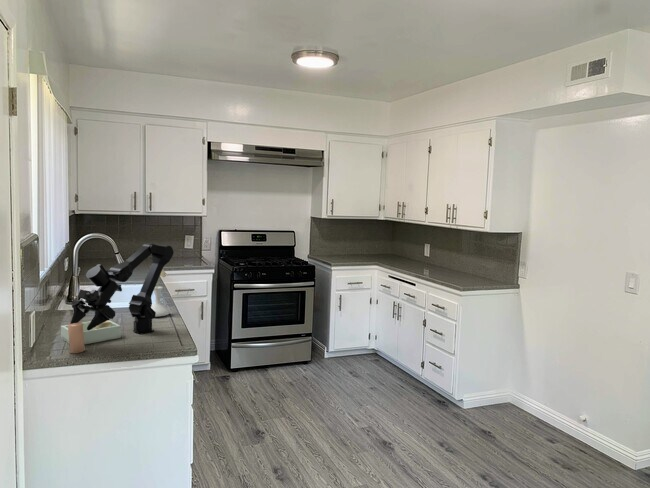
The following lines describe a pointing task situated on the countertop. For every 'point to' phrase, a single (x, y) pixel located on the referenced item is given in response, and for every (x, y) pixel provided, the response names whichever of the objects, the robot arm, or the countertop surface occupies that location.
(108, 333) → the tote
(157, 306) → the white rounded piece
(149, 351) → the countertop surface
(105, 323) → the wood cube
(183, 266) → the countertop surface
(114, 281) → the robot arm
